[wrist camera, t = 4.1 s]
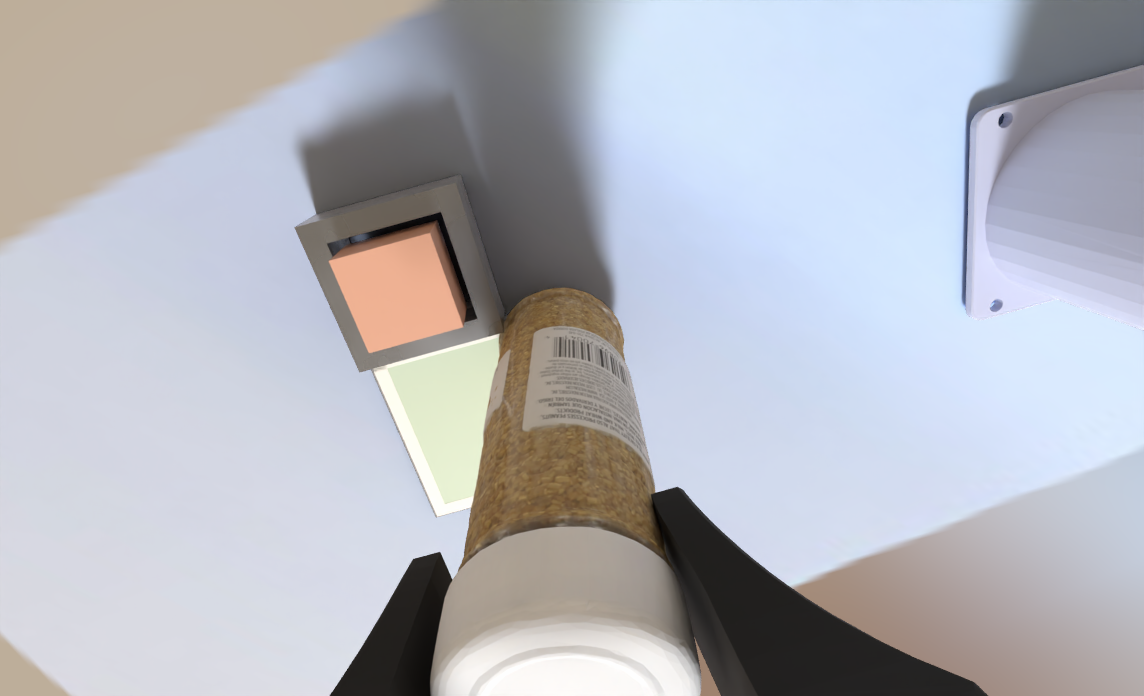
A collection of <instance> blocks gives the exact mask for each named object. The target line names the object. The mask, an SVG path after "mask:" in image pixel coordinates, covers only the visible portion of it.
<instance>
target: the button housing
mask: <svg viewBox="0 0 1144 696" xmlns="http://www.w3.org/2000/svg"><path fill="white" fill-rule="evenodd" d="M439 212H441V213H442V216H443V219H444V222H445V225H446V228H447V231H448V234H449V237H450V240H451V243H452V246H453V248H454V251H455V254H456V257H457V260H458V263H459V266H460V269H461V272H462V275H463V278H464V281H465V284H466V286H467V289H468V292H469V295H470V298H471V301H468V302H466V304H467V310H466V315H465V321H464V327H462V328H459V329H455V330H452V331H448V332H444V333H441V334H437V335H433V336H430V337H426V338H423V339H419V340H415V341H412V342H408V343H405V344H401V345H397V346H394V347H390V348H387V349H383V350H379V351H376V352H372V353H369V352H368V350H367V348H366V346H365V343H364V341H363V339H362V336H361V334H360V332H359V330H358V327H357V325H356V323H355V320H354V318H353V316H352V313H351V311H350V309H349V307H348V304H347V302H346V300H345V297H344V295H343V293H342V291H341V288H340V286H339V284H338V281H337V279H336V277H335V274H334V272H333V270H332V268H331V265H330V263H329V260H330V259H331V258H332V257H333V256H335V255H336V254H337V253H338V252H339V251H340V250H341V249H342V248H343V247H344V246H345V245H348V244H351V243H350V241H349V237H352V236H356V235H359V234H363V233H367V232H370V231H374V230H377V229H381V228H385V227H388V226H392V225H395V224H399V223H403V222H406V221H410V220H414V219H417V218H421V217H424V216H428V215H432V214H435V213H439ZM295 230H296V232H297V234H298V236H299V239H300V241H301V243H302V245H303V248H304V250H305V252H306V254H307V256H308V259H309V261H310V263H311V265H312V268H313V270H314V272H315V274H316V276H317V279H318V281H319V283H320V285H321V288H322V290H323V292H324V294H325V296H326V299H327V301H328V303H329V305H330V308H331V310H332V312H333V314H334V316H335V319H336V321H337V323H338V325H339V328H340V330H341V332H342V334H343V337H344V339H345V341H346V343H347V345H348V348H349V350H350V352H351V354H352V357H353V359H354V361H355V363H356V365H357V368H358V370H359V372H363V371H366V370H370V369H374V368H377V367H381V366H385V365H388V364H392V363H395V362H399V361H403V360H406V359H410V358H413V357H417V356H421V355H424V354H428V353H431V352H435V351H439V350H442V349H446V348H450V347H453V346H457V345H460V344H464V343H468V342H471V341H475V340H478V339H482V338H486V337H489V336H493V335H496V334H500V333H504V308H503V305H502V302H501V299H500V296H499V293H498V289H497V286H496V283H495V280H494V277H493V274H492V271H491V268H490V264H489V261H488V258H487V255H486V252H485V249H484V246H483V243H482V239H481V236H480V233H479V230H478V227H477V224H476V221H475V218H474V214H473V211H472V208H471V205H470V202H469V199H468V196H467V193H466V189H465V186H464V183H463V180H462V177H461V174H460V175H456V176H452V177H449V178H445V179H442V180H438V181H434V182H431V183H427V184H424V185H420V186H416V187H413V188H409V189H406V190H402V191H398V192H395V193H391V194H388V195H384V196H380V197H377V198H373V199H369V200H366V201H362V202H359V203H355V204H351V205H348V206H344V207H341V208H337V209H333V210H330V211H326V212H323V213H319V214H316V215H314V216H312V217H311V218H309V219H307V220H306V221H304V222H303V223H301V224H299V225H298V226H296V227H295Z"/></svg>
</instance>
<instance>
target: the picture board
mask: <svg viewBox="0 0 1144 696" xmlns="http://www.w3.org/2000/svg"><path fill="white" fill-rule="evenodd" d="M507 316H508V315H506V316H504V322H505V321H506V318H507ZM499 335H500V334H496V335H493V336H489V337H486V338H482V339H478V340H475V341H471V342H468V343H464V344H460V345H457V346H453V347H450V348H446V349H442V350H439V351H435V352H431V353H428V354H424V355H421V356H417V357H413V358H410V359H406V360H403V361H399V362H395V363H392V364H388V365H385V366H381V367H377V368H374V369H371V371H372V373H373V375H374V378H375V380H376V382H377V384H378V387H379V389H380V391H381V394H382V396H383V398H384V400H385V403H386V405H387V407H388V410H389V412H390V414H391V416H392V419H393V421H394V423H395V425H396V428H397V430H398V432H399V435H400V437H401V439H402V441H403V444H404V446H405V448H406V450H407V453H408V455H409V457H410V460H411V462H412V464H413V466H414V469H415V471H416V473H417V475H418V478H419V480H420V482H421V485H422V487H423V489H424V491H425V494H426V496H427V498H428V501H429V503H430V505H431V507H432V510H433V512H434V514H435V516H436V517H440V516H443V515H447V514H450V513H454V512H458V511H461V510H465V509H468V508H471V506H472V502H473V498H474V492H475V488H476V482H477V478H478V471H479V464H480V459H481V453H482V448H483V430H484V424H485V418H486V413H487V408H488V402H489V396H490V390H491V385H492V380H493V376H494V373H495V369H496V367H497V365H498V359H499Z"/></svg>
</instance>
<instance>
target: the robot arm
mask: <svg viewBox="0 0 1144 696" xmlns="http://www.w3.org/2000/svg"><path fill="white" fill-rule="evenodd" d="M1002 114H1003V115H1004V120H1003V122H1002V124H1001V125H1000V126H999V124H998V121H999V117H1000V116H1001V115H1002ZM994 300H995V303H994V305H993V306H992V307H990V306H991V303H992V302H993V301H994ZM1053 300H1060V301H1063V302H1066V303H1069V304H1071V305H1074V306H1077V307H1080V308H1082V309H1085V310H1088V311H1091V312H1094V313H1096V314H1099V315H1102V316H1105V317H1107V318H1110V319H1113V320H1116V321H1118V322H1121V323H1124V324H1127V325H1130V326H1132V327H1135V328H1138V329H1141V330H1143V331H1144V64H1143V65H1140V66H1136V67H1133V68H1129V69H1125V70H1122V71H1118V72H1115V73H1111V74H1107V75H1104V76H1100V77H1097V78H1093V79H1089V80H1086V81H1082V82H1079V83H1075V84H1071V85H1068V86H1064V87H1060V88H1057V89H1053V90H1050V91H1046V92H1042V93H1039V94H1035V95H1032V96H1028V97H1024V98H1021V99H1017V100H1014V101H1010V102H1006V103H1003V104H999V105H995V106H992V107H988V108H985V109H983V110H981V111H979V112H978V113H977V114H976V115H975V116H974V118H973V119H972V121H971V126H970V156H969V195H968V234H967V272H966V314H967V315H968V316H969V317H971V318H973V319H976V320H985V319H988V318H992V317H996V316H999V315H1003V314H1006V313H1010V312H1014V311H1017V310H1021V309H1024V308H1028V307H1032V306H1035V305H1039V304H1042V303H1046V302H1050V301H1053ZM651 498H652V502H653V505H654V508H655V512H656V515H657V519H658V522H659V525H660V529H661V532H662V535H663V539H664V543H665V550H666V555H667V558H668V560H669V562H670V563H671V565H672V566H673V569H674V571H673V572H674V573H675V575H676V576H677V578H678V580H679V582H680V584H681V586H682V589H683V592H684V595H685V598H686V603H687V607H688V611H689V616H690V620H691V624H692V629H693V634H694V637H695V639H696V641H697V644H698V646H699V648H700V650H701V653H702V655H703V657H704V659H705V661H706V664H707V666H708V668H709V670H710V672H711V675H712V677H713V679H714V681H715V684H716V686H717V688H718V690H719V692H720V694H721V696H988V695H987V694H986V693H985V692H984V691H983V690H982V689H981V688H980V687H979V686H978V685H976V684H975V683H974V682H972V681H970V680H967V679H965V678H963V677H960V676H958V675H955V674H953V673H950V672H948V671H946V670H943V669H941V668H938V667H936V666H933V665H931V664H929V663H926V662H924V661H921V660H919V659H916V658H914V657H912V656H910V655H908V654H905V653H904V652H902V651H900V650H898V649H895V648H893V647H891V646H889V645H887V644H885V643H883V642H881V641H879V640H877V639H875V638H873V637H872V636H870V635H868V634H866V633H865V632H862V631H861V630H859V629H857V628H856V627H854V626H852V625H850V624H848V623H847V622H845V621H843V620H841V619H839V618H837V617H836V616H834V615H832V614H831V613H829V612H827V611H826V610H824V609H823V608H821V607H819V606H818V605H816V604H815V603H813V602H812V601H810V600H808V599H807V598H805V597H804V596H802V595H801V594H799V593H798V592H797V591H795V590H794V589H792V588H791V587H789V586H788V585H786V584H785V583H784V582H782V581H781V580H780V579H778V578H777V577H776V576H774V575H773V574H772V573H770V572H769V571H768V570H766V569H765V568H764V567H763V566H761V565H760V564H759V563H758V562H756V561H755V560H754V559H753V558H751V557H750V556H749V555H748V554H747V553H745V552H744V551H743V550H742V549H741V548H740V547H738V546H737V545H736V544H735V543H734V542H733V541H732V540H731V539H730V538H728V537H727V536H726V535H725V534H724V533H723V532H722V531H721V530H720V529H719V528H718V527H717V526H716V525H714V524H713V523H712V522H711V521H710V520H709V518H708V517H707V516H706V515H705V514H704V513H703V512H702V511H701V510H700V509H699V508H698V507H697V506H696V505H695V504H694V503H693V501H692V500H691V499H690V498H689V497H688V496H687V494H686V493H685V492H684V490H682V489H680V488H679V487H675V488H672V489H668V490H664V491H661V492H657V493H654V494H651ZM451 582H452V578H451V576H450V573H449V571H448V569H447V566H446V564H445V562H444V560H443V557H442V555H441V553H440V552H438V553H434V554H430V555H427V556H423V557H419V558H416V559H413V560H412V562H411V564H410V565H409V567H408V569H407V570H406V572H405V574H404V576H403V577H402V579H401V581H400V583H399V584H398V586H397V588H396V590H395V591H394V593H393V595H392V597H391V598H390V600H389V602H388V604H387V605H386V607H385V609H384V611H383V612H382V614H381V616H380V618H379V619H378V621H377V623H376V624H375V626H374V628H373V629H372V631H371V633H370V634H369V636H368V638H367V639H366V641H365V643H364V644H363V646H362V647H361V649H360V651H359V652H358V654H357V655H356V657H355V658H354V660H353V661H352V663H351V665H350V666H349V668H348V669H347V671H346V672H345V674H344V675H343V677H342V678H341V680H340V681H339V683H338V684H337V686H336V687H335V689H334V690H333V692H332V693H331V694H330V696H431V693H430V676H431V669H432V663H433V656H434V651H435V645H436V640H437V635H438V629H439V624H440V619H441V614H442V609H443V604H444V599H445V596H446V593H447V591H448V589H449V586H450V584H451Z"/></svg>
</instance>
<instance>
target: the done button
mask: <svg viewBox="0 0 1144 696" xmlns="http://www.w3.org/2000/svg"><path fill="white" fill-rule="evenodd" d="M329 263H330V265H331V268H332V270H333V272H334V274H335V277H336V279H337V281H338V284H339V286H340V288H341V291H342V293H343V295H344V297H345V300H346V302H347V304H348V307H349V309H350V311H351V313H352V316H353V318H354V320H355V323H356V325H357V327H358V330H359V332H360V334H361V336H362V339H363V341H364V343H365V346H366V348H367V350H368V352H369V353H372V352H376V351H379V350H383V349H387V348H390V347H394V346H397V345H401V344H405V343H408V342H412V341H415V340H419V339H423V338H426V337H430V336H433V335H437V334H441V333H444V332H448V331H452V330H455V329H459V328H462V327H464V321H465V315H466V310H467V304H466V302H465V299H464V296H463V293H462V290H461V287H460V284H459V281H458V278H457V276H456V273H455V270H454V267H453V264H452V261H451V258H450V255H449V253H448V250H447V247H446V244H445V241H444V238H443V235H442V232H441V229H440V227H439V224H438V221H437V220H435V221H431V222H427V223H424V224H420V225H417V226H413V227H409V228H406V229H402V230H399V231H395V232H391V233H388V234H384V235H381V236H377V237H373V238H370V239H366V240H362V241H359V242H355V243H352V244H348V245H345V246H344V247H343V248H342V249H341V250H340V251H339V252H338V253H337V254H336V255H335V256H333V257H332V258H331V259H330V260H329Z"/></svg>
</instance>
